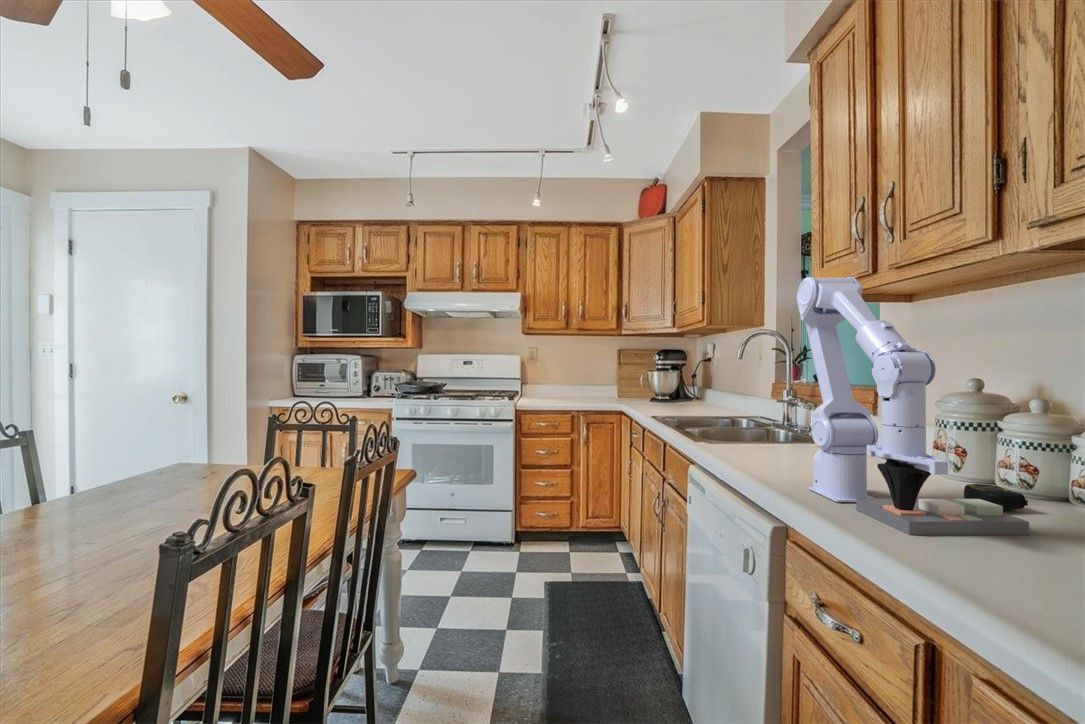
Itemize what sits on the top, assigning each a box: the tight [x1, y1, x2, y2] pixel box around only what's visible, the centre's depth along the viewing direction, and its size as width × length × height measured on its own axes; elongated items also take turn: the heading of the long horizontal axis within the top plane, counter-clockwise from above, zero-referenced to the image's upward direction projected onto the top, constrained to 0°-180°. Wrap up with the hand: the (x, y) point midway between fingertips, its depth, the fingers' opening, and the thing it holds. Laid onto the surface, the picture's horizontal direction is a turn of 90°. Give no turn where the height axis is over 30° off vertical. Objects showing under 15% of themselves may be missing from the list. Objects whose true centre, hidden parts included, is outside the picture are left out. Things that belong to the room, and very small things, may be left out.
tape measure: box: [963, 483, 1029, 511], centre depth 83 cm, size 7×7×4 cm
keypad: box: [855, 498, 1030, 536], centre depth 76 cm, size 12×18×2 cm, turn 89°
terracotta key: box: [882, 505, 926, 516], centre depth 75 cm, size 4×4×2 cm
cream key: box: [918, 498, 965, 516], centre depth 75 cm, size 4×4×2 cm
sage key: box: [954, 498, 1004, 516], centre depth 75 cm, size 4×4×2 cm
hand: (903, 509), depth 75 cm, fingers closed, pressing on terracotta key
